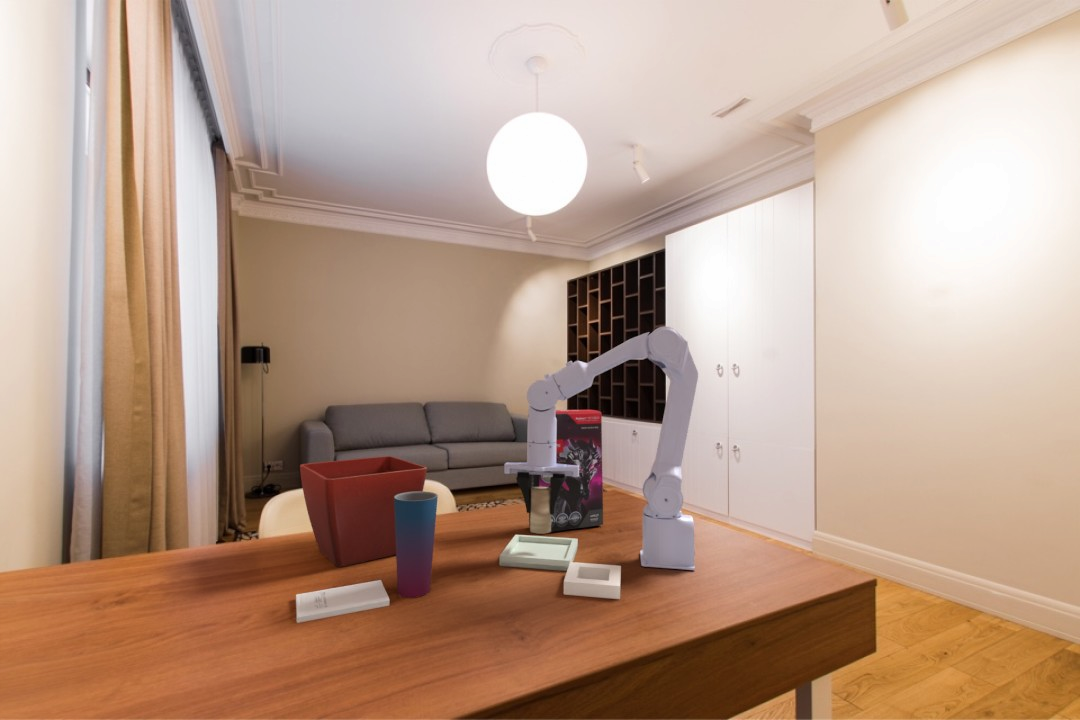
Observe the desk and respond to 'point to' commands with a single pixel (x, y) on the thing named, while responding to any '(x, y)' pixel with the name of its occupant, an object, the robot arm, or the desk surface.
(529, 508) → the robot arm
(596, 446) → the graphics card box
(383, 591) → the external hard drive
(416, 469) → the plant pot
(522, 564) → the tray
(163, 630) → the desk surface
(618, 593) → the pin holder
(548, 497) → the peg
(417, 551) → the cup
